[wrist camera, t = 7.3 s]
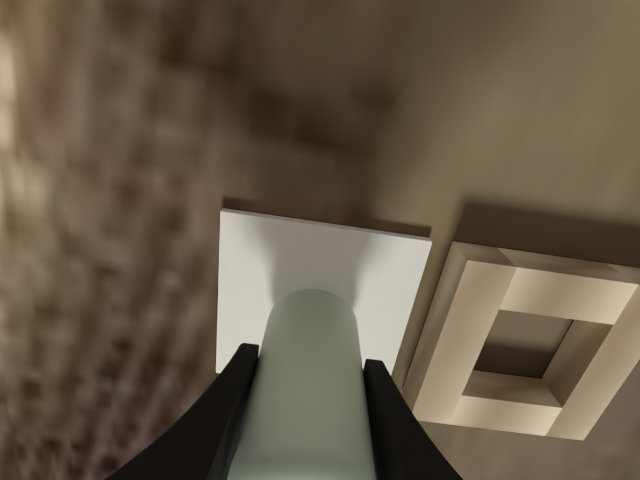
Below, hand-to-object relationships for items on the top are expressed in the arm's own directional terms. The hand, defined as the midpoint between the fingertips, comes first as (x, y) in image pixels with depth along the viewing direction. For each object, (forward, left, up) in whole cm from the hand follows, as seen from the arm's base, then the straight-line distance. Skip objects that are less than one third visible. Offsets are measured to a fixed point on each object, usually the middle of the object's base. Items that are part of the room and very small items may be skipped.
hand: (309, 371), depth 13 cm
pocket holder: (-10, 0, -4) cm, 11 cm away
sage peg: (0, 0, -3) cm, 3 cm away
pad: (0, 0, -4) cm, 4 cm away
